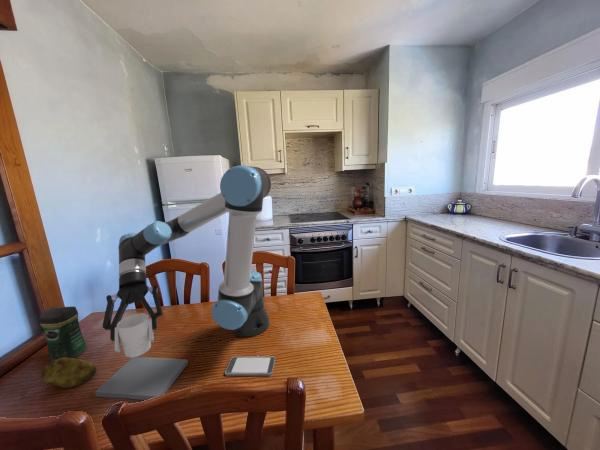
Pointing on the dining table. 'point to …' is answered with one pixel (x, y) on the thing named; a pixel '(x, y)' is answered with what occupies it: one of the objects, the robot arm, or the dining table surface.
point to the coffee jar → (62, 332)
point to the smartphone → (250, 366)
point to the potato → (67, 372)
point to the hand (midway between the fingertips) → (135, 346)
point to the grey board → (143, 378)
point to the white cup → (134, 334)
